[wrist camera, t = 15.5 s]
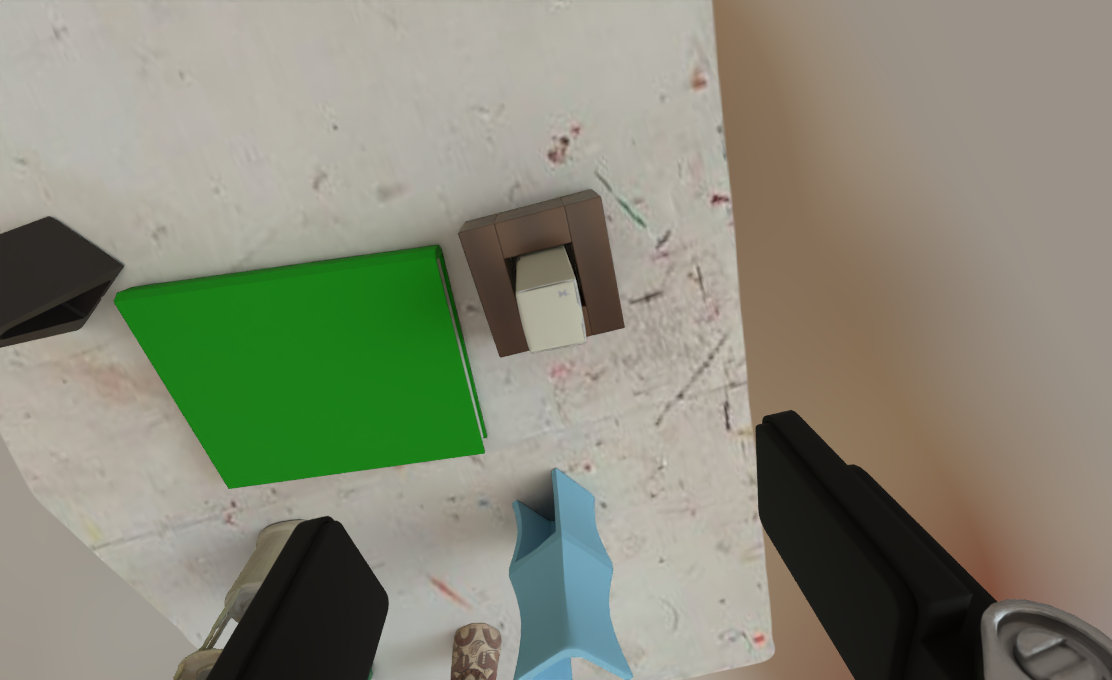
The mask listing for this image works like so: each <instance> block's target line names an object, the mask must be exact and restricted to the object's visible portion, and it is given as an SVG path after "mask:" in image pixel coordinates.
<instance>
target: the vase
mask: <svg viewBox="0 0 1112 680" xmlns="http://www.w3.org/2000/svg"><path fill="white" fill-rule="evenodd" d="M551 473H552V483H553V493H554V505H555V521H548V520H547V519H545V518H544V517H542V516H540V515H539V514H537V513H536V512H534V511H533V510H531V509H530V508H528V507H527V506H525V505H524V504H522V503H521V502H519V501H518V500H516V501H514V502H513V503H512V505H513V509H514V512H515V516H516V521H517V530H518V533H517V542H516V547H515V551H514V555H513V558H512V561H511V564H510V567H509V578H510V580H511V583H512V586H513V588H514V591H515V594H516V597H517V601H518V605H519V609H520V617H521V639H520V648H519V655H518V660H517V665H516V670H515V674H514V679H513V680H572V670H571V659H570V657H582V658H584V659H587V660H588V661H590V662H592V663H594V664H596V665H598V666H600V667H602V668H604V669H606V670H607V671H609V672H611V673H613V674H615V675H617V676H619V677H621V678H622V679H624V680H630V679H632V678H633V675H632V672H631V670H630V668H629V666H628V663H627V661H626V659H625V657H624V655H623V653H622V650H621V648H620V646H619V643H618V641H617V638H616V635H615V632H614V629H613V625H612V622H611V618H610V609H609V593H610V585H611V579H612V574H613V566H612V562H611V560H610V558H609V556H608V554H607V552H606V550H605V548H604V546H603V544H602V541H601V539H600V536H599V534H598V530H597V527H596V522H595V511H594V502H595V500H594V496H593V495H592V494H591V493H589V492H588V491H587V490H586V489H584V488H583V487H581V486H580V485H579V484H577V483H576V482H575V481H573V480H572V479H571V478H569V477H568V476H566V475H565V474H564V473H562V472H561V471H560V470H558V469H557V468H555V469H554V470H552V471H551Z"/></svg>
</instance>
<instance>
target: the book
mask: <svg viewBox="0 0 1112 680" xmlns="http://www.w3.org/2000/svg"><path fill="white" fill-rule="evenodd" d="M114 303H115V305H116V307H117V308H118V310H119V311H120V313H121V315H122V316H123V318H124V320H125V321H126V323H127V324H128V326H129V328H130V329H131V331H132V333H133V334H134V336H135V337H136V339H137V341H138V342H139V344H140V346H141V347H142V349H143V350H144V352H145V354H146V355H147V357H148V359H149V360H150V362H151V363H152V365H153V367H154V368H155V370H156V372H157V373H158V375H159V376H160V378H161V380H162V381H163V383H164V385H165V386H166V388H167V389H168V391H169V393H170V394H171V396H172V398H173V399H174V401H175V402H176V404H177V406H178V407H179V409H180V411H181V412H182V414H183V415H184V417H185V419H186V420H187V422H188V424H189V425H190V427H191V428H192V430H193V432H194V433H195V435H196V437H197V438H198V440H199V441H200V443H201V445H202V446H203V448H204V450H205V451H206V453H207V454H208V456H209V458H210V459H211V461H212V463H213V464H214V466H215V467H216V469H217V471H218V472H219V474H220V476H221V477H222V479H223V480H224V482H225V484H226V485H227V487H228V489H232V488H239V487H246V486H253V485H261V484H268V483H275V482H282V481H289V480H297V479H304V478H311V477H318V476H325V475H333V474H340V473H347V472H354V471H362V470H369V469H376V468H383V467H390V466H398V465H405V464H412V463H419V462H426V461H434V460H441V459H448V458H455V457H462V456H470V455H477V454H484V453H485V450H484V446H483V438H487V434H486V430H485V426H484V422H483V418H482V414H481V409H480V405H479V401H478V397H477V393H476V389H475V385H474V381H473V377H472V372H471V368H470V364H469V360H468V356H467V352H466V348H465V344H464V340H463V335H462V331H461V327H460V323H459V319H458V315H457V311H456V307H455V303H454V299H453V294H452V290H451V286H450V282H449V278H448V274H447V270H446V266H445V262H444V257H443V253H442V249H441V248H440V246H439V245H434V246H427V247H419V248H412V249H405V250H398V251H391V252H383V253H376V254H369V255H362V256H354V257H347V258H340V259H333V260H325V261H318V262H311V263H304V264H296V265H289V266H282V267H275V268H268V269H260V270H253V271H246V272H239V273H231V274H224V275H217V276H210V277H202V278H195V279H188V280H181V281H174V282H166V283H159V284H152V285H145V286H137V287H131V288H129V289H126V290H123V291H121V292H118V293H117V295H116V297H115V300H114Z"/></svg>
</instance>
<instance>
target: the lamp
mask: <svg viewBox="0 0 1112 680" xmlns="http://www.w3.org/2000/svg"><path fill="white" fill-rule="evenodd" d="M303 521H305V520H293V521H287V522H282V523H277V524H273V525H271V526H269V527H267V528H265V529H264V530H263V531H262V532H261V533H260V534H259V537H258V540H257V543H256V549H255V551H254V553H253V554H252V556H251V557H250V559H249V561H248V562H247V564H246V565H245V567H244V569H243V570H242V572H241V573H240V575H239V577H238V578H237V580H236V581H235V583H234V584H233V586H232V588H231V589H230V591H229V592H228V594H227V596H226V598H225V608H224V609H223V611H222V613H221V614H220V616H219V617H218V619H217V621H216V622H215V624H214V626H213V627H212V630H211V632H210V634H209V636H208V637H207V639H206V640H205V642H204V644H203V646H202V647H201V648H200V649H199V650H198V651H196V652H194V653H192V654H191V655H189V656H187V657H185V659H183V660H182V661H181V662H180V664H179V665H178V670H177V672H176V674H175V676H174V680H206V678H207V676H208V674H209V673H210V671H211V669H212V668H213V666H214V664H215V663H216V661H217V659H218V658H219V656H220V654H221V652H222V651H223V649H216V648H213V646H214V645H215V643H216V642H217V640H218V638H219V637H220V635H221V633H222V631H223V630H224V628H225V626H226V625H227V623H228V621H229V620H230V619H231V617H232V618H233V619H234V620H235V621H236V622H238V623H239V622H240V620H241V618H242V617H243V615H244V613H245V612H246V610H247V608H248V607H249V605H250V603H251V601H252V600H253V598H254V596H255V595H256V593H257V591H258V590H259V588H260V586H261V585H262V583H263V581H264V579H265V578H266V576H267V574H268V573H269V571H270V569H271V568H272V566H273V564H274V562H275V561H276V559H277V557H278V556H279V554H280V552H281V551H282V549H283V547H284V545H285V544H286V542H287V540H288V539H289V537H290V535H291V534H292V532H293V530H294V529H295V527H296V526H297V525H298V524H299V523H301V522H303ZM226 615H227V616H226ZM225 617H226V618H225ZM224 618H225V619H224ZM223 620H224V621H223ZM221 623H222V624H221ZM220 625H221V626H220ZM217 628H219V629H218V630H217V632H216V634H215V635H214V633H215V631H216V629H217ZM213 635H214V637H213ZM212 637H213V639H212ZM211 639H212V640H211ZM210 640H211V642H210V644H209V641H210ZM208 644H209V645H208ZM207 645H208V647H207ZM206 647H207V648H206ZM212 648H213V649H212Z"/></svg>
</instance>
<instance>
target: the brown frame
mask: <svg viewBox="0 0 1112 680" xmlns="http://www.w3.org/2000/svg"><path fill="white" fill-rule="evenodd" d="M458 235H459V238H460V241H461V244H462V247H463V250H464V253H465V256H466V258H467V261H468V264H469V267H470V270H471V273H472V276H473V279H474V282H475V285H476V288H477V291H478V294H479V297H480V300H481V303H482V306H483V309H484V312H485V315H486V318H487V321H488V324H489V327H490V330H491V333H492V336H493V339H494V342H495V344H496V347H497V350H498V353H499V356H500V357H505V356H509V355H513V354H517V353H521V352H525V351H530V350H529V347H528V344H527V340H526V336H525V333H524V329H523V326H522V322H521V317H520V313H519V309H518V304H517V299H516V276H515V272H514V269H513V266H512V262H511V259H510V258H511V257H515V256H519V255H523V254H527V253H531V252H534V251H538V250H542V249H546V248H550V247H554V246H558V245H562V244H566V243H570V246H571V250H572V255H573V259H574V264H575V268H576V273H577V277H578V282H579V286H580V288H578V291H579V296H580V301H581V307H582V312H583V317H584V324H585V330H586V337H588V336H592V335H596V334H601V333H605V332H609V331H613V330H617V329H621V328H625V326H624V321H623V315H622V310H621V304H620V299H619V293H618V288H617V283H616V277H615V272H614V266H613V261H612V255H611V250H610V244H609V239H608V233H607V228H606V222H605V217H604V211H603V206H602V200H601V196H599V195H598V194H597V193H596V192H595V191H593V190H592V189H591V190H587V191H583V192H579V193H575V194H571V195H567V196H563V197H560V198H556V199H552V200H548V201H544V202H540V203H536V204H532V205H528V206H525V207H521V208H517V209H513V210H509V211H505V212H501V213H498V214H494V215H490V216H486V217H482V218H478V219H474V220H470V221H466V222H465V224H464V225H463V227H462V228H461V230H460V231H459V233H458Z"/></svg>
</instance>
